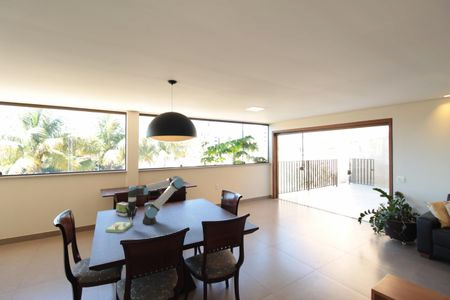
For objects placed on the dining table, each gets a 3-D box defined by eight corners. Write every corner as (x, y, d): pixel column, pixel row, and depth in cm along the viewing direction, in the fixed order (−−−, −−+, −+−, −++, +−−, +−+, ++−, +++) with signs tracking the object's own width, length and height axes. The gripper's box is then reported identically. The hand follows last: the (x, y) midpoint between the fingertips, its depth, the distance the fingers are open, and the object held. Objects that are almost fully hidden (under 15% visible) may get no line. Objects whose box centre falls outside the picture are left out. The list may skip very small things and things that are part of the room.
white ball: (126, 225, 224) (126, 222, 224) (124, 226, 220) (124, 223, 220) (123, 225, 224) (123, 222, 224) (121, 226, 220) (121, 223, 220)
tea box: (115, 214, 268) (115, 203, 268) (122, 212, 277) (122, 201, 277) (123, 216, 261) (124, 204, 262) (130, 214, 271) (130, 203, 271)
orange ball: (119, 228, 215) (119, 224, 215) (117, 229, 211) (117, 226, 211) (115, 228, 215) (115, 224, 215) (113, 229, 211) (114, 225, 211)
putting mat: (132, 225, 233) (132, 222, 233) (122, 232, 211) (122, 229, 211) (117, 224, 233) (117, 221, 234) (105, 231, 211) (105, 229, 212)
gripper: (139, 200, 225) (138, 222, 225) (127, 199, 226) (126, 221, 226) (136, 202, 218) (135, 224, 217) (124, 201, 218) (123, 224, 218)
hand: (131, 223), depth 221 cm, fingers closed
